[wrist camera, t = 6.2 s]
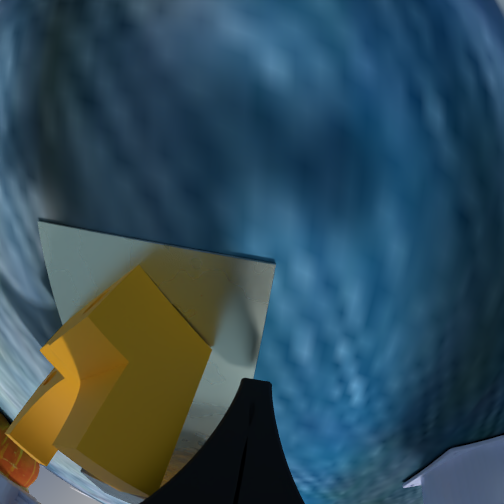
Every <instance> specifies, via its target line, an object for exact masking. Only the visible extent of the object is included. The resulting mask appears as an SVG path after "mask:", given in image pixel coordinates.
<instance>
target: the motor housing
mask: <svg viewBox="0 0 504 504" xmlns="http://www.w3.org/2000/svg"><path fill="white" fill-rule="evenodd" d="M38 227H39V233H40V239H41V245H42V250H43V255H44V259H45V264H46V268H47V273H48V277H49V281H50V285H51V288H52V292H53V296H54V299H55V303H56V306H57V309H58V312H59V316H60V319H61V322H62V325H64V324H65V323H66V322H67V321H68V320H69V319H70V318H71V317H73V316H74V315H75V314H76V313H77V312H79V311H80V310H81V309H82V308H84V307H85V306H86V305H87V304H88V303H90V302H91V301H92V300H93V299H95V298H96V297H97V296H98V295H100V294H101V293H102V292H104V291H105V290H106V289H107V288H109V287H110V286H111V285H112V284H114V283H115V282H116V281H118V280H119V279H120V278H121V277H123V276H124V275H125V274H127V273H128V272H129V271H131V270H132V269H133V268H135V267H136V266H137V265H140V266H141V268H142V269H143V270H144V271H145V273H146V274H147V275H148V276H149V278H150V279H151V280H152V281H153V283H154V284H155V285H156V286H157V287H158V289H159V290H160V291H161V292H162V294H163V295H164V296H165V297H166V298H167V299H168V301H169V302H170V303H171V304H172V305H173V307H174V308H175V309H176V310H177V311H178V312H179V314H180V315H181V316H182V317H183V318H184V319H185V320H186V322H187V323H188V324H189V325H190V326H191V327H192V328H193V329H194V330H195V332H196V333H197V334H198V335H199V336H200V337H201V338H202V339H203V340H204V341H205V343H206V344H207V345H208V346H209V347H210V348H211V349H212V352H211V355H210V357H209V360H208V362H207V365H206V368H205V370H204V373H203V375H202V378H201V381H200V383H199V386H198V388H197V391H196V394H195V396H194V399H193V402H192V404H191V407H190V409H189V412H188V415H187V417H186V420H185V423H184V425H183V428H182V430H181V433H180V436H179V438H178V441H177V444H176V446H175V449H174V451H173V454H172V457H171V459H170V462H169V465H168V467H167V470H166V473H165V475H164V478H163V480H162V483H161V486H160V488H161V487H162V486H163V485H164V484H165V483H167V482H168V481H169V480H170V479H171V478H172V477H174V476H175V475H176V474H177V473H178V472H179V471H180V470H181V469H182V468H183V467H184V466H185V465H186V464H187V463H188V462H189V461H190V460H191V459H192V457H193V456H194V455H195V454H196V453H197V452H198V451H199V449H200V448H201V447H202V446H203V445H204V443H205V442H206V441H207V439H208V438H209V437H210V435H211V434H212V433H213V431H214V430H215V429H216V427H217V426H218V424H219V423H220V421H221V420H222V418H223V416H224V415H225V413H226V412H227V410H228V408H229V406H230V405H231V403H232V401H233V399H234V397H235V395H236V393H237V390H238V388H239V385H240V382H241V379H243V378H250V379H253V377H254V372H255V367H256V362H257V358H258V353H259V348H260V343H261V338H262V333H263V328H264V323H265V318H266V313H267V308H268V303H269V298H270V292H271V287H272V282H273V277H274V271H275V266H276V263H271V262H265V261H259V260H253V259H248V258H242V257H236V256H231V255H225V254H219V253H214V252H208V251H202V250H197V249H191V248H186V247H180V246H174V245H169V244H163V243H158V242H152V241H147V240H141V239H136V238H130V237H125V236H119V235H114V234H109V233H103V232H98V231H92V230H87V229H82V228H76V227H71V226H66V225H60V224H55V223H50V222H45V221H38ZM81 472H82V473H83V474H84V475H85V476H86V477H87V478H88V479H90V480H91V481H92V482H93V483H94V484H95V485H96V486H98V487H99V488H100V489H101V490H102V491H104V492H105V493H107V494H109V495H112V496H114V497H116V498H119V499H121V500H123V501H126V502H128V503H131V504H139V503H141V502H142V501H144V500H145V499H146V498H148V497H143V496H138V495H134V494H129V493H125V492H121V491H118V490H116V489H115V488H113V487H111V486H110V485H108V484H106V483H105V482H103V481H102V480H100V479H98V478H97V477H95V476H94V475H92V474H91V473H89V472H88V471H86V470H85V469H83V468H82V469H81Z"/></svg>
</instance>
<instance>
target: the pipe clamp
mask: <svg viewBox="0 0 504 504" xmlns="http://www.w3.org/2000/svg"><path fill="white" fill-rule="evenodd" d="M40 351H41V352H42V354H43V355H44V356H45V357H46V358H47V359H48V360H49V362H50V363H51V364H52V365H53V366H54V369H53V370H52V371H51V372H50V374H49V375H48V376H47V377H46V379H45V380H44V381H43V382H42V384H41V385H40V386H39V387H38V389H37V390H36V391H35V393H34V394H33V395H32V396H31V398H30V399H29V400H28V402H27V403H26V404H25V406H24V407H23V408H22V410H21V411H20V412H19V414H18V415H17V417H16V418H15V419H14V421H13V422H12V423H11V425H10V426H9V428H8V429H7V431H6V432H5V434H6V435H7V436H8V437H9V438H10V439H11V440H12V441H13V442H14V443H15V444H17V445H18V446H19V447H20V448H21V449H22V450H23V451H25V452H26V453H27V454H28V455H29V456H30V457H32V458H33V459H34V460H35V461H37V462H38V463H40V464H42V465H44V466H47V465H48V464H49V462H50V460H51V459H52V457H53V456H54V455H55V453H56V452H57V451H58V450H59V451H60V452H62V453H63V454H64V455H66V456H67V457H68V458H70V459H71V460H72V461H74V462H75V463H76V464H78V465H79V466H81V467H82V468H83V469H85V470H86V471H88V472H89V473H91V474H92V475H94V476H95V477H97V478H98V479H100V480H102V481H103V482H105V483H106V484H108V485H110V486H111V487H113V488H115V489H116V490H118V491H121V492H125V493H129V494H134V495H138V496H143V497H149V496H151V495H152V494H153V493H154V492H156V491H157V490H158V489H159V488H160V486H161V483H162V480H163V478H164V475H165V473H166V470H167V467H168V465H169V462H170V459H171V457H172V454H173V451H174V449H175V446H176V444H177V441H178V438H179V436H180V433H181V430H182V428H183V425H184V423H185V420H186V417H187V415H188V412H189V409H190V407H191V404H192V402H193V399H194V396H195V394H196V391H197V388H198V386H199V383H200V381H201V378H202V375H203V373H204V370H205V368H206V365H207V362H208V360H209V357H210V355H211V352H212V349H211V348H210V347H209V346H208V345H207V344H206V343H205V341H204V340H203V339H202V338H201V337H200V336H199V335H198V334H197V333H196V332H195V330H194V329H193V328H192V327H191V326H190V325H189V324H188V323H187V322H186V320H185V319H184V318H183V317H182V316H181V315H180V314H179V312H178V311H177V310H176V309H175V308H174V307H173V305H172V304H171V303H170V302H169V301H168V299H167V298H166V297H165V296H164V295H163V294H162V292H161V291H160V290H159V289H158V287H157V286H156V285H155V284H154V283H153V281H152V280H151V279H150V278H149V276H148V275H147V274H146V273H145V271H144V270H143V269H142V268H141V266H140V265H137V266H136V267H135V268H133V269H132V270H131V271H129V272H128V273H127V274H125V275H124V276H123V277H121V278H120V279H119V280H118V281H116V282H115V283H114V284H112V285H111V286H110V287H109V288H107V289H106V290H105V291H104V292H102V293H101V294H100V295H98V296H97V297H96V298H95V299H93V300H92V301H91V302H90V303H88V304H87V305H86V306H85V307H84V308H82V309H81V310H80V311H79V312H77V313H76V314H75V315H74V316H73V317H71V318H70V319H69V320H68V321H67V322H66V323H65V324H64V325H63V326H62V327H61V328H60V329H59V330H58V331H57V332H56V333H55V334H54V335H53V336H52V337H51V338H50V340H49V341H48V342H47V343H46V344H45V345H44V346H43V347H42V348H41V349H40Z"/></svg>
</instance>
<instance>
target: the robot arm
mask: <svg viewBox="0 0 504 504" xmlns="http://www.w3.org/2000/svg"><path fill="white" fill-rule="evenodd" d="M402 485H403V488H406V487H412V486H418V485H421V486H422V494H423V502H424V504H504V435H501V436H498V437H495V438H491V439H488V440H484V441H480V442H476V443H472V444H468V445H464V446H459V447H454V448H451V449H449V450H448V451H446V452H445V453H444V454H443V455H442V456H440V457H439V458H438V459H437V460H435V461H434V462H433V463H431V464H430V465H429V466H427V467H426V468H425V469H423V470H422V471H421V472H419V473H418V474H417V475H415V476H414V477H412V478H411V479H409V480H408V481H406V482H405V483H403V484H402ZM0 504H41V503H39V502H38V501H37V500H36V499H35V498H34V497H33V496H31V495H30V494H29V493H27V492H26V491H25V490H23V489H22V488H21V487H19V486H18V485H17V484H15V483H14V482H12V481H10V480H9V479H7V478H6V477H5V476H3V475H2V474H1V473H0ZM139 504H305V503H304V501H303V499H302V497H301V495H300V493H299V491H298V489H297V487H296V485H295V482H294V480H293V477H292V475H291V472H290V470H289V467H288V464H287V461H286V458H285V455H284V452H283V449H282V445H281V442H280V438H279V434H278V429H277V425H276V420H275V415H274V408H273V400H272V384H271V383H270V382H267V381H261V380H255V379H250V378H243V379H241V382H240V385H239V388H238V390H237V393H236V395H235V397H234V399H233V401H232V403H231V405H230V406H229V408H228V410H227V412H226V413H225V415H224V416H223V418H222V420H221V421H220V423H219V424H218V426H217V427H216V429H215V430H214V431H213V433H212V434H211V435H210V437H209V438H208V439H207V441H206V442H205V443H204V445H203V446H202V447H201V448H200V449H199V451H198V452H197V453H196V454H195V455H194V456H193V457H192V459H191V460H190V461H189V462H188V463H187V464H186V465H185V466H184V467H183V468H182V469H181V470H180V471H179V472H178V473H177V474H176V475H175V476H174V477H172V478H171V479H170V480H169V481H168V482H167V483H165V484H164V485H163V486H162V487H161V488H159V489H158V490H157V491H156V492H154V493H153V494H152V495H151V496H149V497H148V498H146V499H145V500H144V501H142V502H141V503H139Z"/></svg>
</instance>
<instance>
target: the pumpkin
mask: <svg viewBox="0 0 504 504" xmlns="http://www.w3.org/2000/svg"><path fill="white" fill-rule="evenodd" d="M9 426H10V424H9V422H8V421H7V419H6V418H5V417H4V415H2V414H1V413H0V473H1V474H2V475H3V476H5V477H6V478H7V479H9V480H10V481H12V482H14V483H15V484H17V485H18V486H19V487H21V488H22V489H23V490H25V491H26V492H27V493H29V491H28V487H29V486H30V485H31V484H32V483H33V482H34V481H35V480H36V479H37V476H38V473H39V463H38V462H37V461H35V460H34V459H33V458H32V457H30V456H29V455H28V454H27V453H26V452H25V451H23V450H22V449H21V448H20V447H19V446H18V445H17V444H15V443H14V442H13V441H12V440H11V439H10V438H9V437H8V436H7V435H6V434H5V432H6V431H7V429H8V428H9Z"/></svg>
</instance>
